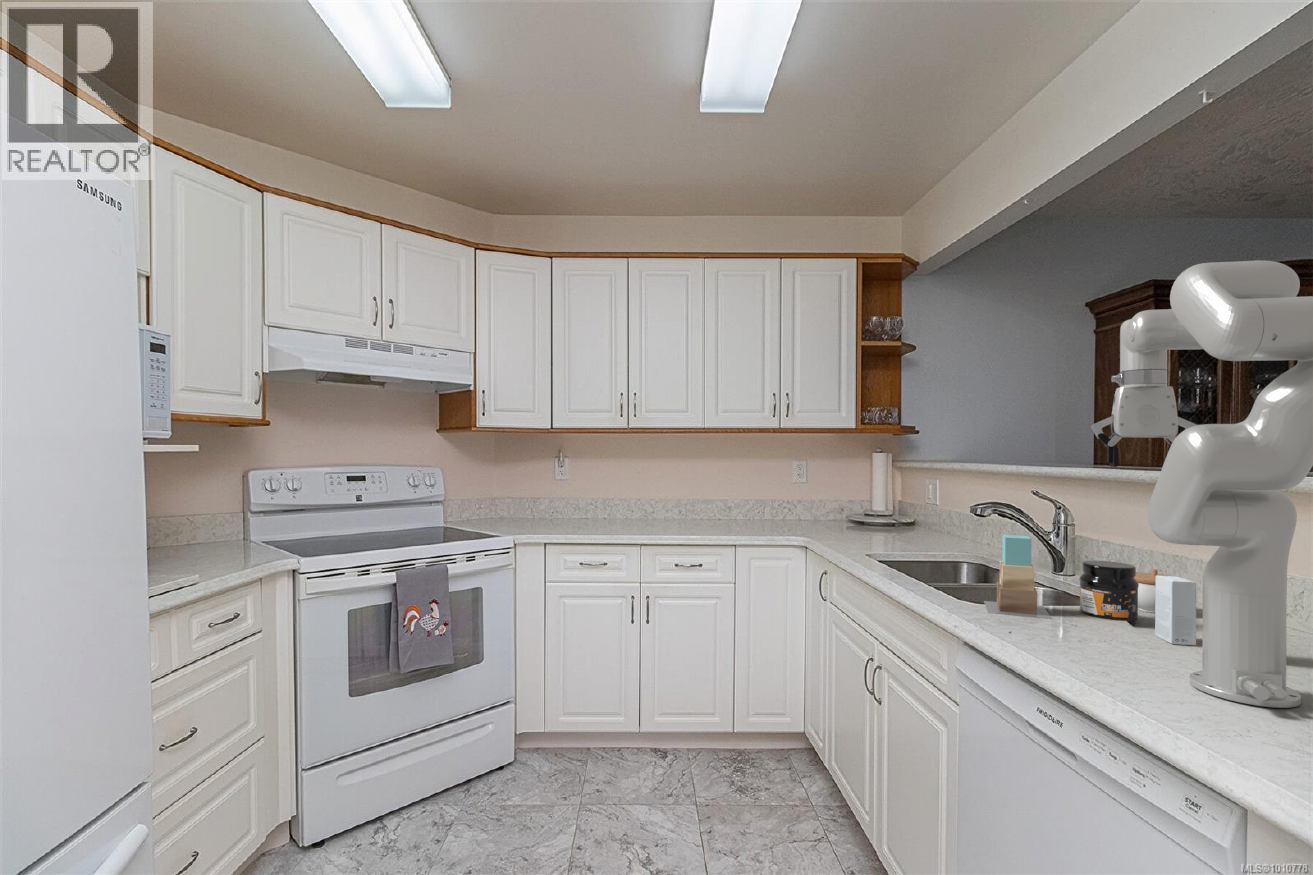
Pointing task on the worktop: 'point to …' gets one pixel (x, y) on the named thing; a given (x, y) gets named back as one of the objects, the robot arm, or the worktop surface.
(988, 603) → the slate board
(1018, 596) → the walnut base block
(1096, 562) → the supplement container
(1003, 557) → the teal block
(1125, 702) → the worktop surface
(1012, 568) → the oak mid block
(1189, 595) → the skincare box
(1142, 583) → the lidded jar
